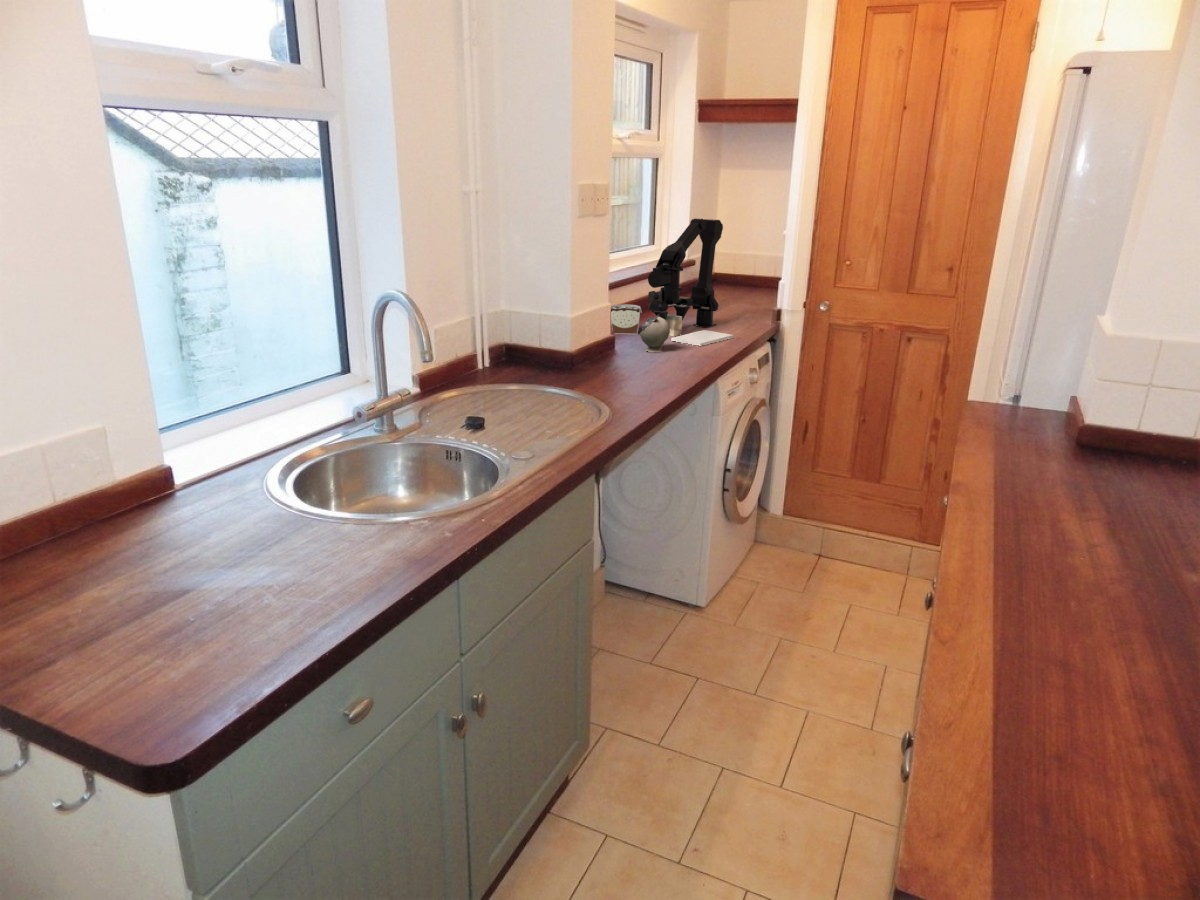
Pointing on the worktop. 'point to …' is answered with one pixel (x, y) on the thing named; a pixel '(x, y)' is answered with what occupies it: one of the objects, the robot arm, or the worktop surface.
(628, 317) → the food container
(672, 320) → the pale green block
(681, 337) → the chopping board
